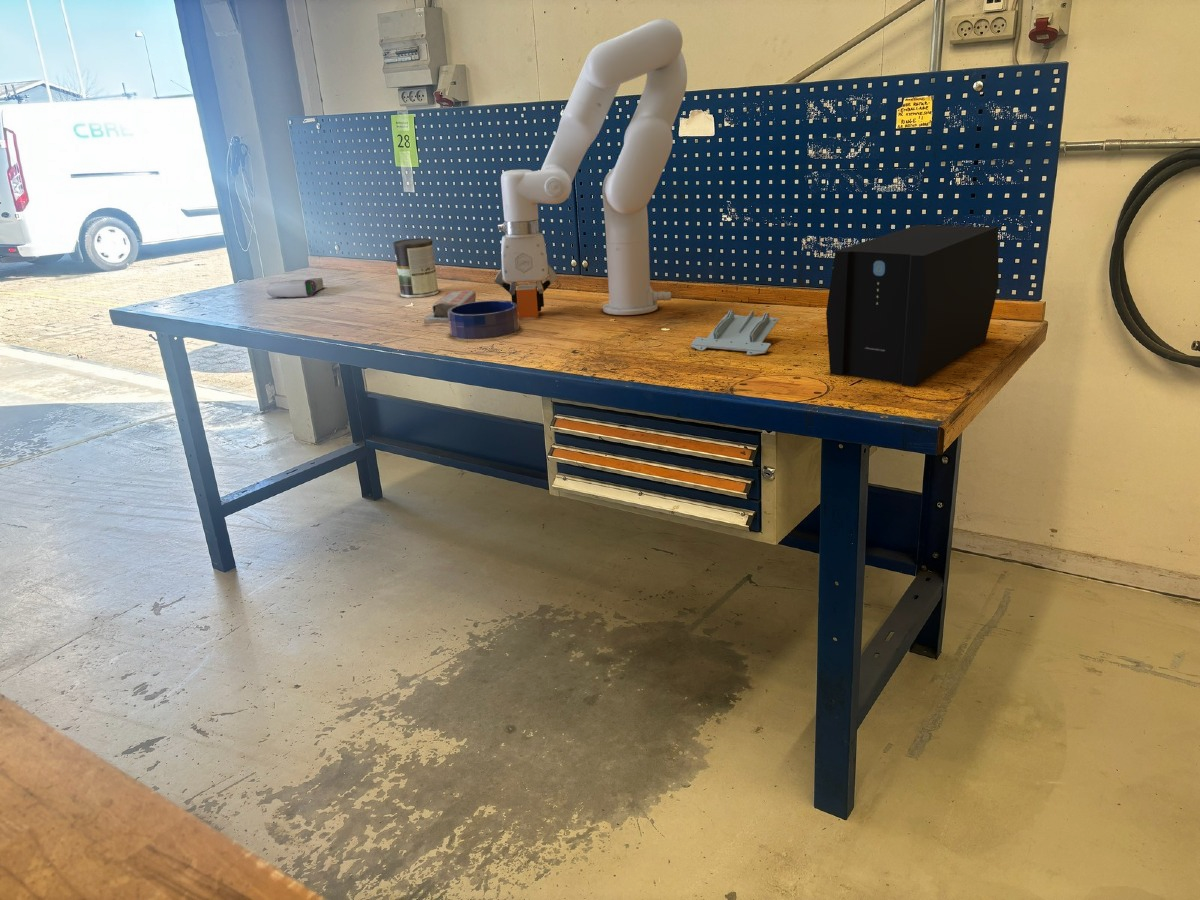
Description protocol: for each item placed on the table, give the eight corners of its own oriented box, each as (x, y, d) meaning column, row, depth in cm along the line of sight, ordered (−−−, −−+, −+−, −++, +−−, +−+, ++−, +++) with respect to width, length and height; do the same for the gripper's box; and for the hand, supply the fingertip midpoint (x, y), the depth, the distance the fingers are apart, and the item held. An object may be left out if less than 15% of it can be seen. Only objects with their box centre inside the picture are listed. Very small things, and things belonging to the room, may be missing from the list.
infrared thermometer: (327, 290, 249) (310, 297, 235) (287, 292, 249) (267, 299, 235) (325, 274, 248) (307, 280, 233) (284, 276, 248) (264, 282, 234)
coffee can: (394, 298, 226) (387, 244, 221) (408, 290, 235) (400, 238, 230) (432, 297, 224) (424, 243, 219) (444, 289, 234) (437, 237, 229)
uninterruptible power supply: (823, 372, 141) (828, 250, 134) (907, 329, 164) (914, 223, 157) (921, 387, 131) (932, 256, 124) (995, 339, 154) (1008, 225, 147)
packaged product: (442, 289, 207) (482, 287, 206) (445, 309, 209) (484, 307, 208) (420, 304, 191) (464, 303, 189) (423, 325, 192) (466, 324, 191)
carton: (539, 313, 197) (536, 284, 194) (538, 318, 192) (535, 288, 190) (520, 314, 197) (517, 285, 194) (518, 319, 192) (516, 289, 190)
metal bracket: (717, 303, 168) (790, 308, 160) (720, 329, 171) (792, 335, 164) (686, 340, 159) (762, 346, 151) (690, 366, 162) (765, 374, 155)
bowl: (521, 323, 189) (519, 298, 187) (516, 339, 176) (514, 312, 174) (456, 327, 189) (452, 302, 187) (446, 343, 176) (443, 317, 174)
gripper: (482, 232, 184) (490, 316, 190) (560, 228, 184) (565, 312, 190) (485, 228, 191) (493, 309, 197) (560, 224, 191) (565, 305, 197)
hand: (528, 309), depth 194 cm, fingers closed on carton, 4 cm apart
